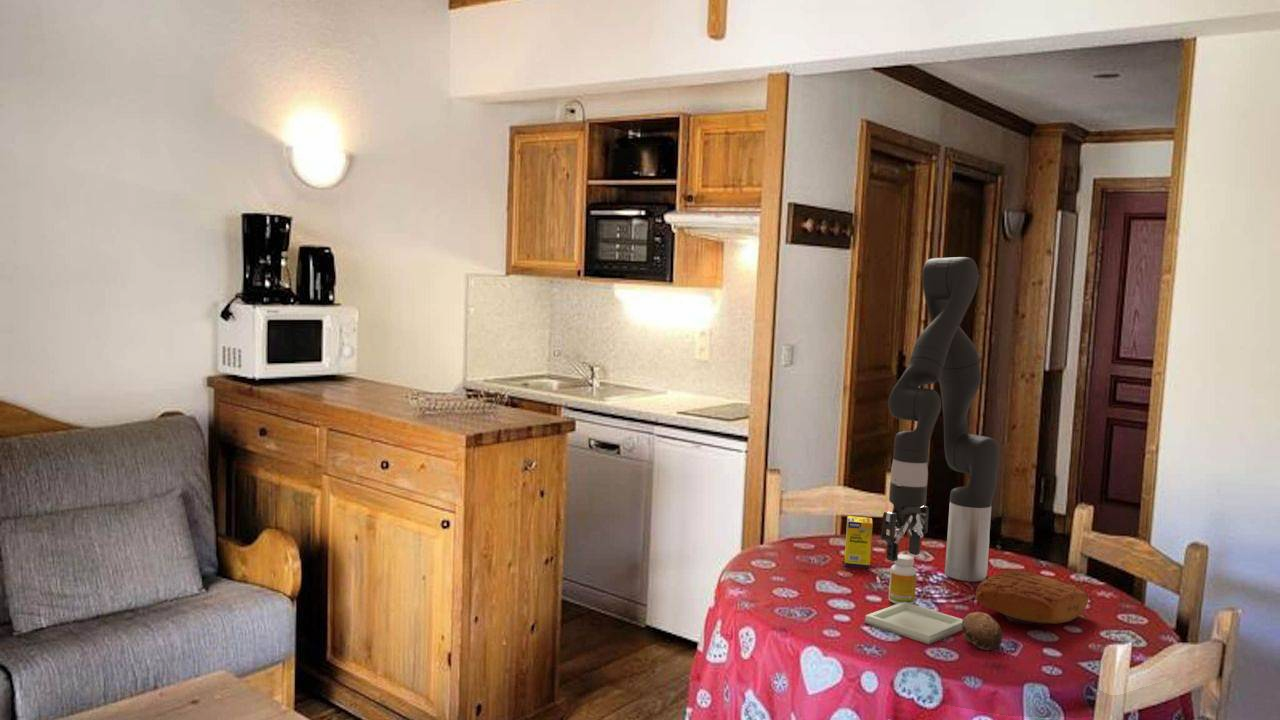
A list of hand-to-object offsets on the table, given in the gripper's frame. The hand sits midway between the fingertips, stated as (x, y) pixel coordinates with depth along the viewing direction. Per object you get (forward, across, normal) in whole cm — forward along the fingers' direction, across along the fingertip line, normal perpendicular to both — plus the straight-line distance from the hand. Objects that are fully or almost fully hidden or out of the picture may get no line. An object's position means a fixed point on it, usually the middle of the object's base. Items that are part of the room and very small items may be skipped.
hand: (902, 557), depth 208 cm
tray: (+10, +11, +10) cm, 18 cm away
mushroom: (+10, +10, +24) cm, 27 cm away
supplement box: (+10, -16, -22) cm, 29 cm away
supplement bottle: (+10, 0, 0) cm, 10 cm away
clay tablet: (+10, -14, +22) cm, 28 cm away
